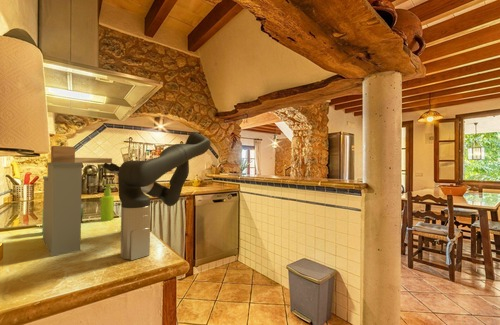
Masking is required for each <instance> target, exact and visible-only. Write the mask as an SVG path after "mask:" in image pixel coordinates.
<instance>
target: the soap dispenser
mask: <svg viewBox="0 0 500 325" xmlns="http://www.w3.org/2000/svg"><path fill="white" fill-rule="evenodd" d="M103 186H105V190H104V191H103V195H102V196H101V198H100V221H101V222H109V221H113V220H114V206H115V204H114V201H115V200H114V199H115V196H114V195H112V190H111V189H110V186H112V187H115V186H116V184H113V183H105V184H104V185H103Z"/></svg>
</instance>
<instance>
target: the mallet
mask: <svg viewBox="0 0 500 325" xmlns="http://www.w3.org/2000/svg"><path fill="white" fill-rule="evenodd" d="M50 162H51V163H83V164H104V163H107V164H111V163H113V158H112V157H111V158H108V157H105V158H104V157H76V146H69V145H68V146H65V145H51V146H50Z"/></svg>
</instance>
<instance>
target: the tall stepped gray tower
mask: <svg viewBox="0 0 500 325" xmlns="http://www.w3.org/2000/svg"><path fill="white" fill-rule="evenodd" d="M83 164H84V163H51V161H50V162H46V165H47V175H46V176H43V177H42V179H43V201H42V202H43V204H42V205H43V208H42V224H43V234H42V240H43V241H44V244H45V246H46V248H47V250H48V252H49V254H50V256H51V257H52V258H53V257H56V256H57V257H58V256H60V255H65V254H70V253H74V252H79V251H81V247H82V246H81V245H82V242H81V240H82V236H81V235H82V234H81V233H82V222H81V202H82V187H83V185H82V183H83V181H82V180H83V179H82V178H83V177H82V176H83V175H82V174H83V173H82V171H83Z"/></svg>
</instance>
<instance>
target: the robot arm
mask: <svg viewBox="0 0 500 325" xmlns="http://www.w3.org/2000/svg"><path fill="white" fill-rule="evenodd" d="M211 143H212V142H211V140H210V138H208V137H207V136H205V135H203V134H201V133H199V132H197V131H193V132H191V133H190V134H189V135H188V137H187V139H186V141H185V143H176V144H173V145H169V146H168V147H166V148H164V149H163V150H162V151H161V152H160V155H159V156H157V157H154V158H152V159H148V160H126V161H123V163H122V164H121V165H120V166H119V165H117V164H115V163H113V162H112V163H103V165H102V168H103V169H105V170H107V171H109V172H110V173H111V174H113V175H115V176H116V177H117V183H118V184H117V185H118V188H117V189H118V197H119V201H120V204H121V212H120V213H121V214H120V215H121V216H120V258H121V259H122V260H130V261H134V260H137V259H140V258H141V259H142V258H144V257H148V256H150V252H151V251H150V250H151V248H150V247H151V246H150V245H151V197H152V198H158V199H160V200H161V201H162V202H163V203H164V205H165V206H167V207H173V206H175V205H176V204H177V203H178V202H179V199H180V197H181V194H182V190H183V187H184V185H185V182H186V181H187V179H188V177H189V173H190V162H189V161H190V160H192V159H193V158H196V157H199V156H201V155H203V154H206V152H208V151H209V150H210V147H211ZM172 170H174V172H173V173H172V176H171V178H170V179H169V187H168V186H164V185H163V184H161V183H158V182H157V180H159V179H160V178H161V177H163V176H164V175H166V174H167V173H169V172H170V171H172Z"/></svg>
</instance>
